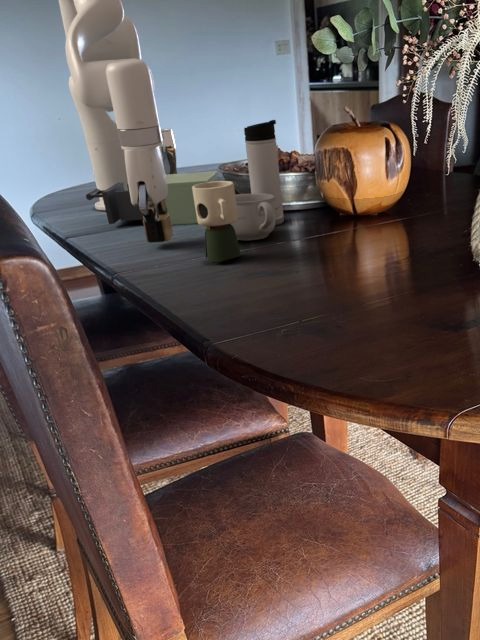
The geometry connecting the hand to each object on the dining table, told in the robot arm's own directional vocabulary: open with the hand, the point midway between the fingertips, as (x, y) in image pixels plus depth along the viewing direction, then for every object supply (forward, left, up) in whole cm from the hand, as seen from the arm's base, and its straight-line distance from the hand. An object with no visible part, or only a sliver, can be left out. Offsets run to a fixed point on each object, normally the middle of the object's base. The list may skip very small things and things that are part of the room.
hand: (160, 237), depth 127 cm
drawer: (-26, +11, -1) cm, 28 cm away
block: (0, 0, 0) cm, 0 cm away
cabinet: (-17, +19, -2) cm, 25 cm away
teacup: (+13, +13, -2) cm, 19 cm away
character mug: (+19, 0, -2) cm, 20 cm away
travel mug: (+6, +24, -2) cm, 25 cm away
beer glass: (-58, +44, -2) cm, 72 cm away
